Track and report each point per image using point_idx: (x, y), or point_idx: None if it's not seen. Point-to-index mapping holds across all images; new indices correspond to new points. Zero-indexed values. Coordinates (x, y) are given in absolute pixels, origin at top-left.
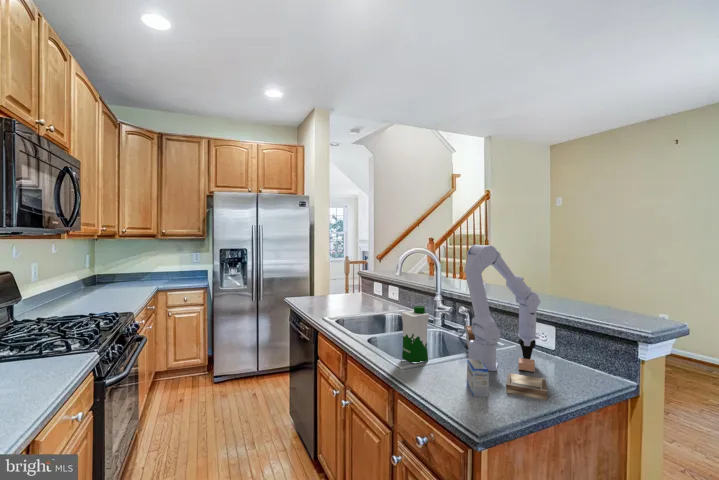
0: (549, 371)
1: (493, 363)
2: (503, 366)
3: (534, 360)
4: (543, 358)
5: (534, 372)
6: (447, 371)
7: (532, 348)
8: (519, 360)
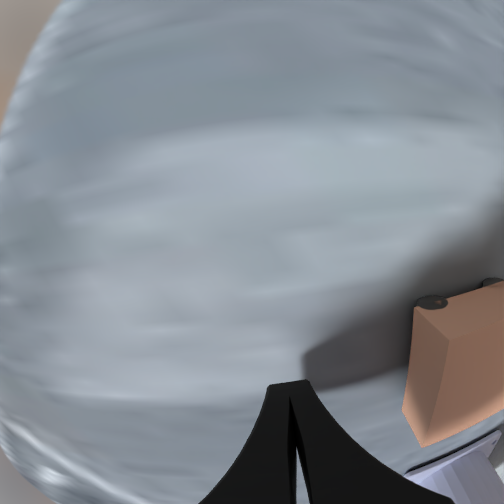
0: (417, 165)
1: (489, 465)
2: (429, 446)
3: (462, 336)
4: (64, 266)
5: (495, 279)
6: None
7: (399, 478)
8: (479, 419)
